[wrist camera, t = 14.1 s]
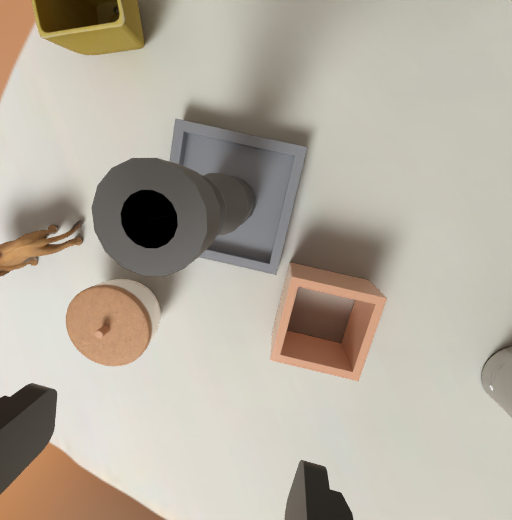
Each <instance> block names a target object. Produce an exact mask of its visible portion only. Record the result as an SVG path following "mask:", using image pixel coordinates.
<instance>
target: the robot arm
mask: <svg viewBox="0 0 512 520" xmlns="http://www.w3.org/2000/svg"><path fill="white" fill-rule="evenodd" d="M481 380H482V385H483V387H484V389H485V391H486V392H487V393H488V395H489V396H490V397H491V398H492V399H493V400H494V401H496V402H497V403H498V404H499V405H500V406H501V407H502V408H503V409H504V410H505V411H506V412H507V413H508V414H509V415H510V416H511V417H512V346H511V347H508V348H505V349H503V350H501V351H499V352H497V353H496V354H494V355H493V356H492V357H491V358H490V359H489V360H488V361H487V363H486V364H485V366H484V368H483V371H482V378H481ZM56 403H57V391H56V390H55V389H51V388H48V387H44V386H41V385H37V384H34V383H31V384H28V385H26V386H25V387H23V388H22V389H20V390H19V391H18V392H16V393H15V394H14V395H12V396H11V397H8V396H3V397H1V398H0V494H1V493H2V492H3V491H4V490H5V489H6V488H7V487H8V486H9V485H10V484H11V483H12V482H13V481H14V480H15V479H16V478H17V477H18V476H19V475H20V474H21V472H22V471H23V470H24V469H25V468H26V467H27V466H28V465H29V464H30V463H31V462H32V461H33V460H34V459H35V458H36V457H37V456H38V455H39V454H40V453H41V452H42V450H43V449H44V448H45V446H46V445H47V444H48V442H49V441H50V439H51V437H52V434H53V432H54V427H55V415H56ZM285 520H353V515H352V512H351V510H350V508H349V507H348V505H347V503H346V501H345V499H344V497H343V495H342V493H340V492H337V491H333V490H330V488H329V481H328V474H327V470H326V467H324V466H321V465H317V464H314V463H310V462H307V461H303V460H301V461H300V463H299V465H298V468H297V471H296V474H295V477H294V480H293V484H292V487H291V490H290V493H289V496H288V499H287V504H286V511H285Z"/></svg>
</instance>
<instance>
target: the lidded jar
mask: <svg viewBox="0 0 512 520" xmlns="http://www.w3.org/2000/svg"><path fill="white" fill-rule="evenodd" d="M159 323H160V306H159V303H158V301H157V299H156V297H155V295H154V294H153V293H152V292H151V291H150V290H149V289H148V288H147V287H146V286H144V285H143V284H141V283H139V282H136V281H133V280H128V279H115V280H109V281H106V282H102V283H100V284H98V285H95V286H92V287H90V288H87V289H85V290H83V291H82V292H80V293H79V294H77V295H76V296H75V297H74V298H73V300H72V301H71V303H70V304H69V307H68V309H67V314H66V327H67V331H68V335H69V337H70V339H71V341H72V342H73V344H74V346H75V347H76V348H77V349H78V350H79V351H80V352H81V353H82V354H83V355H84V356H86V357H87V358H88V359H90V360H92V361H94V362H96V363H99V364H102V365H106V366H121V365H126V364H128V363H131V362H133V361H134V360H136V359H137V358H138V357H139V356H141V355H142V353H143V352H144V351H145V349H146V348H147V346H148V345H149V343H150V342H151V341H152V339H153V338H154V336H155V334H156V332H157V330H158V327H159Z"/></svg>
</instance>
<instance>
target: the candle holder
mask: <svg viewBox="0 0 512 520" xmlns="http://www.w3.org/2000/svg"><path fill="white" fill-rule="evenodd" d="M254 209H255V194H254V192H253V189H252V187H251V186H250V185H249V184H248V183H247V182H246V181H244V180H242V179H240V178H237V177H234V176H228V175H226V174H223V173H208V174H206V175H204V176H203V175H200V174H199V173H198V172H196V171H194V170H192V169H189V168H187V167H185V166H182V165H180V164H177V163H173V162H169V161H165V160H162V159H158V158H132V159H130V160H128V161H125V162H123V163H121V164H119V165H117V166H115V167H113V168H111V170H110V171H109V172H108V173H107V175H106V176H105V177H104V178H103V179H102V181H101V182H100V183H99V184H98V186H97V190H96V193H95V197H94V201H93V205H92V214H93V222H94V230H95V233H96V234H97V236H98V238H99V240H100V242H101V244H102V246H103V248H104V250H105V252H106V253H108V254H109V255H110V256H111V257H112V258H113V259H114V260H115V261H116V262H117V263H118V264H119V265H120V266H121V267H123V268H125V269H128V270H130V271H133V272H135V273H137V274H140V275H142V276H166V275H169V274H171V273H174V272H177V271H179V270H182V269H184V268H185V267H187V266H188V265H189V264H190V263H192V262H193V261H194V260H195V259H197V258H198V257H199V256H200V255H201V254H202V253H203V252H204V251H205V250H206V249H207V248H208V247H209V246H210V245H211V244H212V243H213V242H214V239H215V238H216V237H217V236H218V235H222V236H223V235H226V234H228V233H231V232H233V231H235V230H236V229H237V228H238V227H239V226H240V225H242V224H243V223H244V222H246V220H247V219H248V218H249V217H250V216H251V215H252V214H253V211H254Z"/></svg>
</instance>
